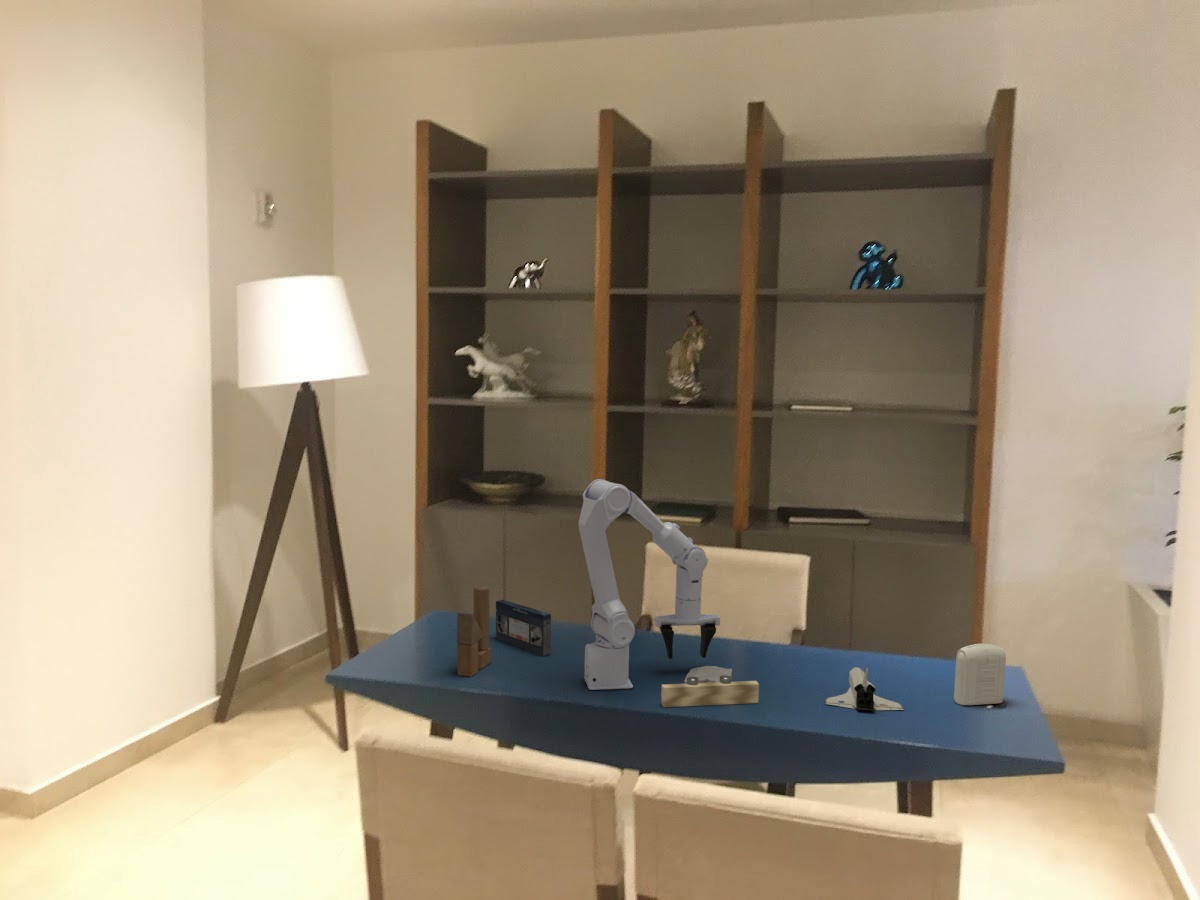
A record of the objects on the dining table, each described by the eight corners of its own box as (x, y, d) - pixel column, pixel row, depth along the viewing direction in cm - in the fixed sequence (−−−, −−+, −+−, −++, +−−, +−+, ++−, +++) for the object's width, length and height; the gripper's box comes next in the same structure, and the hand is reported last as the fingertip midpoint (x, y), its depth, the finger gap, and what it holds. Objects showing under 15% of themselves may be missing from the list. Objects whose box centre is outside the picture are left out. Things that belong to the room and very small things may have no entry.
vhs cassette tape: (495, 639, 235) (495, 600, 234) (504, 637, 237) (504, 598, 236) (541, 657, 221) (542, 616, 220) (551, 655, 223) (552, 614, 222)
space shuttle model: (889, 678, 212) (891, 635, 211) (906, 720, 188) (908, 671, 187) (819, 673, 215) (820, 630, 214) (826, 714, 190) (828, 665, 189)
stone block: (685, 705, 197) (732, 699, 196) (681, 682, 197) (728, 677, 196) (690, 688, 209) (735, 682, 207) (686, 666, 209) (731, 661, 207)
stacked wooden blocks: (456, 675, 208) (456, 595, 206) (477, 660, 218) (477, 584, 216) (471, 677, 207) (472, 596, 205) (491, 662, 217) (492, 585, 215)
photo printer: (993, 697, 200) (996, 640, 199) (1006, 704, 196) (1009, 646, 194) (950, 700, 197) (953, 642, 196) (962, 707, 193) (965, 648, 192)
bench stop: (663, 707, 191) (663, 683, 190) (659, 701, 194) (660, 677, 193) (758, 702, 194) (759, 679, 194) (753, 697, 197) (754, 674, 197)
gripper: (714, 592, 216) (712, 650, 217) (652, 593, 213) (651, 652, 215) (723, 600, 209) (721, 660, 210) (659, 601, 206) (657, 662, 208)
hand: (686, 656), depth 212 cm, fingers open, 7 cm apart
